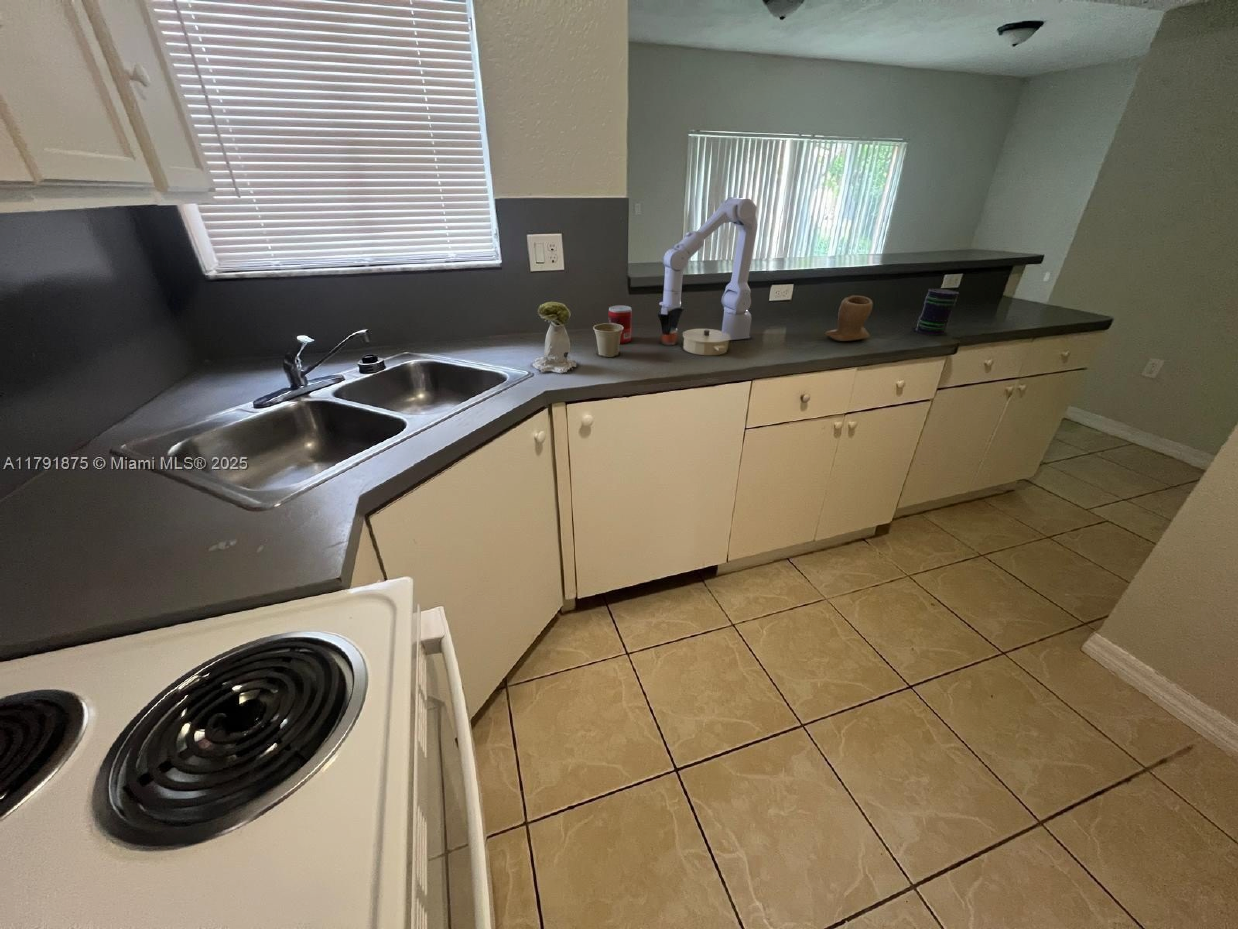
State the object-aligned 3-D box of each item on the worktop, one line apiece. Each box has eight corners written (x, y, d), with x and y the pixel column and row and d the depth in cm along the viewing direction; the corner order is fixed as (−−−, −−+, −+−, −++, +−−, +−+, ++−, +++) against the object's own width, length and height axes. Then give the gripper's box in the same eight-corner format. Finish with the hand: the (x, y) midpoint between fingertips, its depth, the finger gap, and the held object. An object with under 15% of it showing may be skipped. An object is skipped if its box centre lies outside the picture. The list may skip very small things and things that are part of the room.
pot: (708, 338, 172) (709, 326, 170) (740, 355, 156) (742, 343, 154) (671, 341, 168) (672, 330, 165) (700, 359, 152) (702, 347, 150)
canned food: (631, 337, 171) (632, 305, 165) (629, 344, 164) (630, 311, 158) (609, 336, 171) (610, 304, 166) (607, 343, 165) (607, 310, 159)
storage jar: (947, 331, 186) (962, 291, 178) (941, 336, 180) (956, 294, 172) (918, 326, 192) (932, 287, 184) (912, 331, 185) (925, 290, 178)
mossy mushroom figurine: (536, 359, 149) (532, 297, 140) (578, 359, 149) (576, 298, 140) (530, 372, 139) (524, 306, 130) (575, 373, 139) (572, 307, 129)
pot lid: (714, 330, 169) (715, 322, 168) (739, 342, 156) (740, 334, 155) (674, 333, 164) (674, 326, 163) (696, 347, 151) (697, 339, 150)
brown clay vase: (841, 346, 167) (853, 301, 159) (820, 336, 177) (830, 293, 169) (877, 343, 171) (890, 299, 163) (854, 333, 181) (866, 292, 173)
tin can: (672, 340, 169) (673, 326, 166) (678, 344, 165) (680, 329, 162) (658, 341, 167) (659, 327, 165) (665, 345, 163) (666, 331, 161)
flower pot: (601, 360, 149) (601, 332, 145) (588, 351, 156) (588, 325, 152) (628, 356, 153) (628, 329, 148) (614, 348, 160) (615, 321, 155)
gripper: (668, 284, 164) (665, 325, 171) (653, 292, 153) (650, 335, 160) (688, 286, 162) (684, 327, 169) (674, 294, 150) (671, 338, 157)
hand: (669, 331), depth 164 cm, fingers open, 7 cm apart
